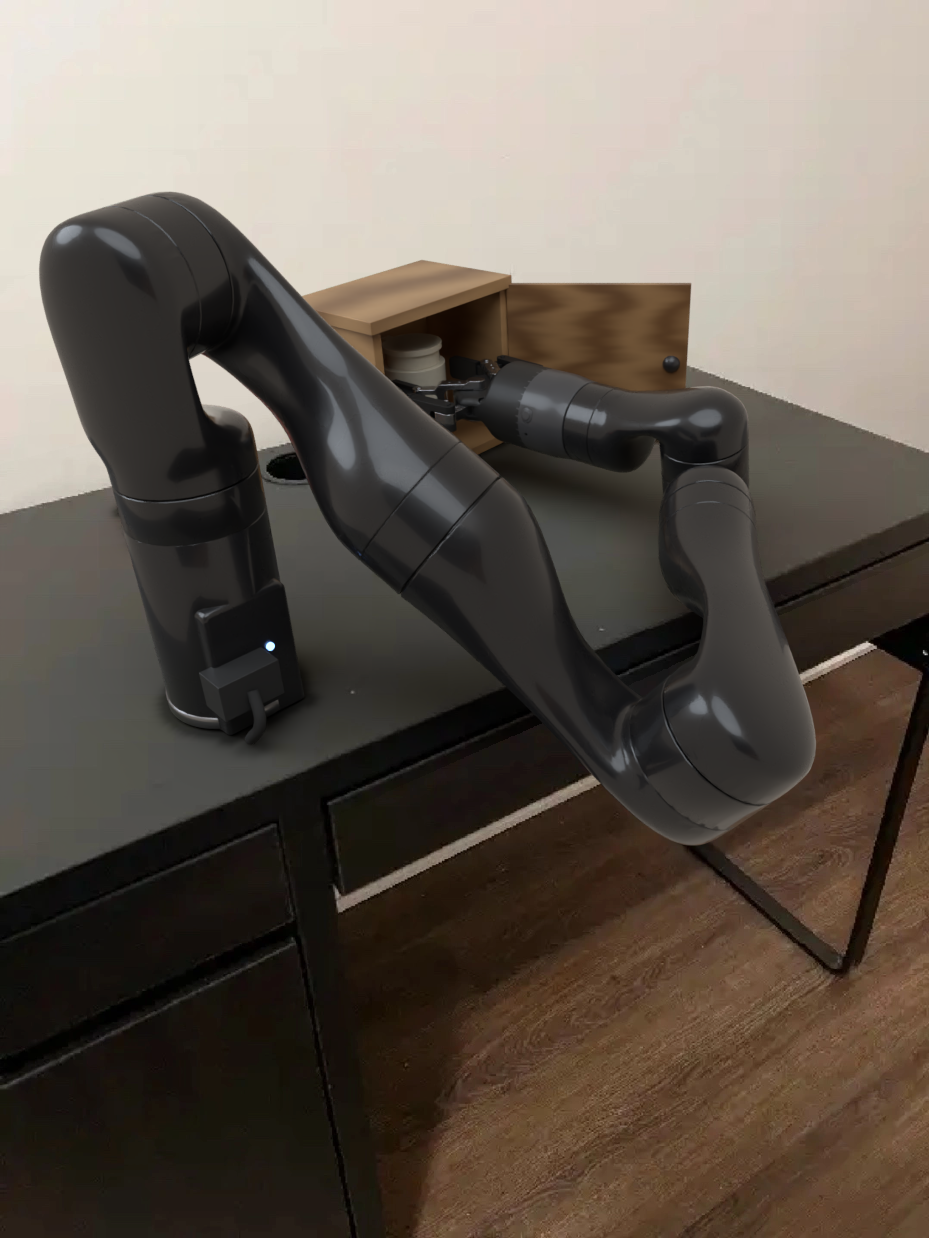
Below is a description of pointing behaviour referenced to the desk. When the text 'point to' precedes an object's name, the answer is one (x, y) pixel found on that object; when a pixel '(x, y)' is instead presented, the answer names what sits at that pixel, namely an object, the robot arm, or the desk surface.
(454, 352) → the cabinet
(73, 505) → the desk surface
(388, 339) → the white jar
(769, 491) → the desk surface
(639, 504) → the desk surface
